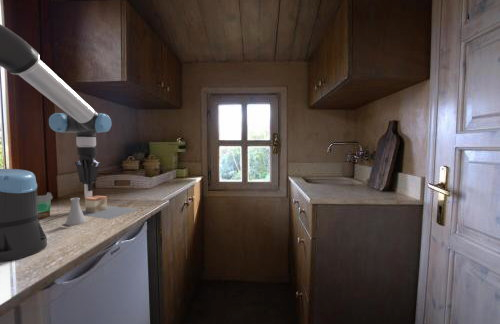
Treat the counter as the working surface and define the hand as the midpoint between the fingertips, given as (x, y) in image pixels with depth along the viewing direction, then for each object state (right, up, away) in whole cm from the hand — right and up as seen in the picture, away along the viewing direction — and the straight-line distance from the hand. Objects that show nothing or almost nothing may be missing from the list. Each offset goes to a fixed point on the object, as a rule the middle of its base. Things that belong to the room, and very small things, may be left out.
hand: (88, 197), depth 117 cm
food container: (-11, -7, -14) cm, 19 cm away
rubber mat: (+10, -6, -3) cm, 12 cm away
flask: (+7, -8, -19) cm, 22 cm away
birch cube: (+4, -6, -1) cm, 7 cm away
